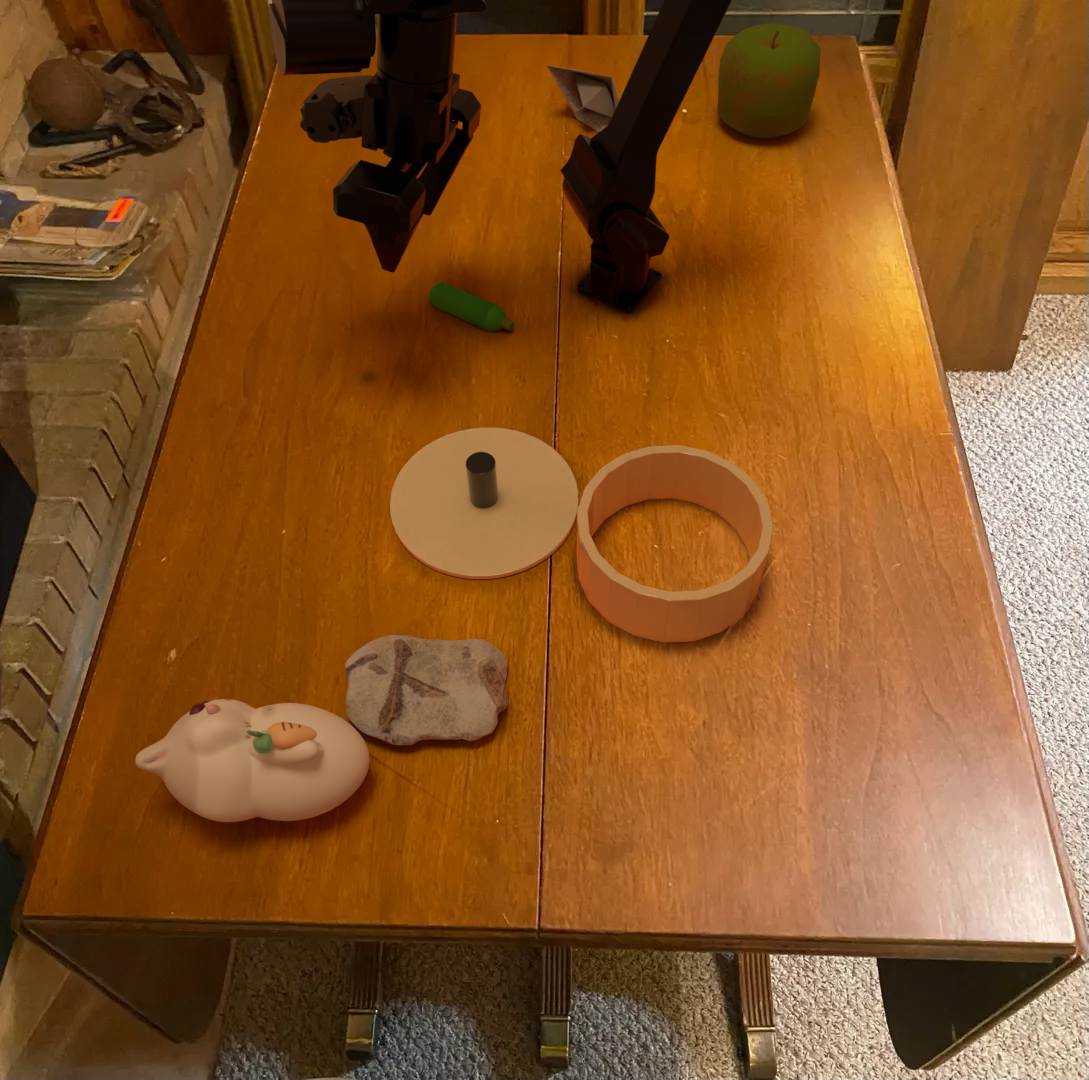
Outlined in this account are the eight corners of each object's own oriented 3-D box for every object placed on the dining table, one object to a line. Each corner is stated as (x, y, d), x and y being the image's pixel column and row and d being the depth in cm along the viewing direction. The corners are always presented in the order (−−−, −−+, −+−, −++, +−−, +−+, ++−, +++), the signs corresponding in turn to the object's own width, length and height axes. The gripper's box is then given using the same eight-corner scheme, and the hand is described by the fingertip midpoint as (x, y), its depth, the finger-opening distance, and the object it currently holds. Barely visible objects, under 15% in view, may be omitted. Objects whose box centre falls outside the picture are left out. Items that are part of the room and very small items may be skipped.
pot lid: (465, 410, 93) (460, 365, 88) (613, 484, 87) (616, 440, 83) (352, 527, 85) (340, 485, 81) (507, 616, 80) (504, 576, 75)
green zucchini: (425, 308, 101) (422, 287, 99) (441, 293, 102) (438, 273, 100) (504, 345, 97) (503, 325, 95) (520, 329, 99) (519, 309, 97)
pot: (636, 470, 88) (640, 418, 83) (790, 545, 83) (805, 495, 78) (542, 588, 81) (540, 541, 76) (703, 678, 76) (714, 634, 71)
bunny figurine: (366, 707, 65) (122, 704, 63) (361, 836, 64) (115, 836, 63) (375, 696, 74) (163, 693, 73) (371, 808, 74) (157, 807, 72)
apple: (786, 89, 122) (803, -3, 113) (824, 140, 116) (845, 46, 107) (698, 105, 121) (709, 13, 112) (732, 157, 114) (746, 64, 106)
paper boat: (657, 108, 118) (632, 130, 111) (623, 148, 122) (596, 172, 116) (583, 30, 116) (553, 48, 110) (550, 74, 121) (519, 94, 114)
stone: (343, 758, 73) (335, 739, 70) (351, 646, 78) (344, 625, 76) (510, 750, 73) (508, 730, 71) (507, 639, 78) (505, 617, 76)
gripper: (361, -9, 84) (360, 164, 96) (261, 92, 72) (275, 275, 84) (490, 26, 83) (473, 196, 95) (411, 134, 71) (403, 313, 83)
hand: (407, 241), depth 89 cm, fingers open, 9 cm apart
